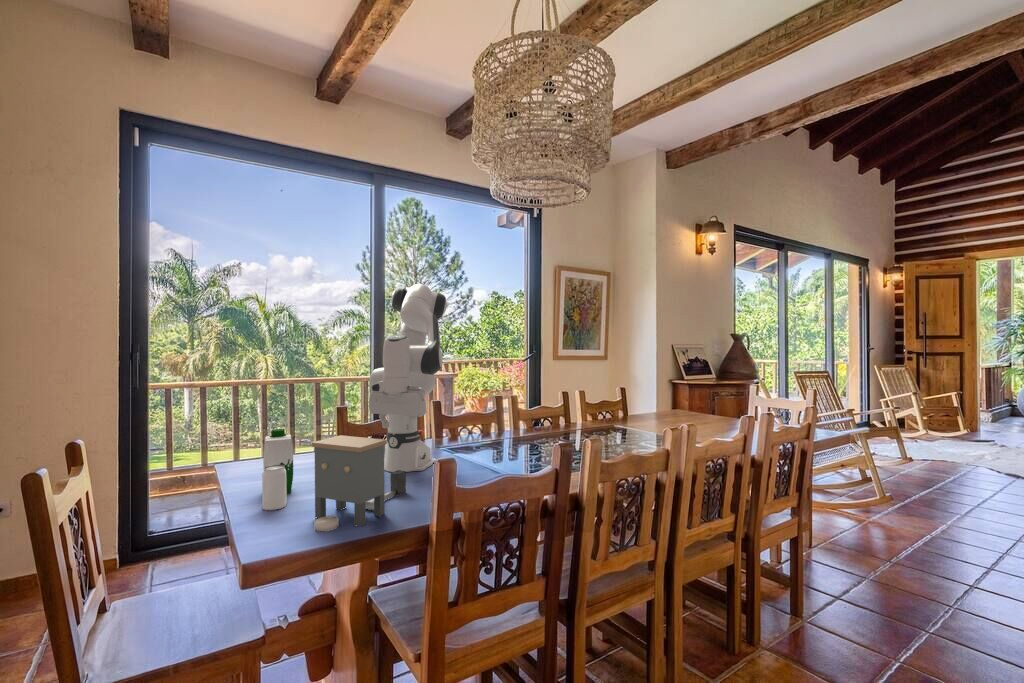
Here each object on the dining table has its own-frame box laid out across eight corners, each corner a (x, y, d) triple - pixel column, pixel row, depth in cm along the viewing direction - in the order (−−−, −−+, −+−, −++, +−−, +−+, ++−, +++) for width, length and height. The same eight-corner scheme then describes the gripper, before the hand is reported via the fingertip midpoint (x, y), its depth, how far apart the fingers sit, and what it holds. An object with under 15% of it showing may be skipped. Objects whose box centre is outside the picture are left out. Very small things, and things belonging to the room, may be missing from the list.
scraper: (393, 490, 165) (393, 469, 165) (411, 493, 162) (410, 471, 162) (355, 507, 148) (355, 484, 148) (374, 511, 146) (374, 486, 146)
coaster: (331, 521, 138) (330, 514, 138) (343, 526, 134) (342, 519, 134) (310, 528, 133) (309, 521, 133) (322, 534, 129) (321, 526, 129)
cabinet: (340, 506, 150) (340, 435, 150) (387, 514, 143) (386, 439, 143) (311, 518, 140) (311, 442, 139) (360, 527, 133) (359, 447, 133)
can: (264, 512, 145) (264, 471, 145) (260, 506, 150) (260, 466, 150) (288, 508, 149) (288, 467, 148) (284, 502, 154) (283, 463, 154)
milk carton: (292, 486, 170) (292, 427, 170) (294, 494, 162) (293, 432, 161) (263, 490, 166) (263, 429, 166) (263, 498, 158) (262, 434, 158)
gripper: (430, 386, 160) (430, 429, 160) (378, 383, 168) (378, 425, 168) (418, 388, 154) (419, 433, 154) (365, 385, 162) (366, 428, 163)
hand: (397, 428), depth 161 cm, fingers open, 8 cm apart
